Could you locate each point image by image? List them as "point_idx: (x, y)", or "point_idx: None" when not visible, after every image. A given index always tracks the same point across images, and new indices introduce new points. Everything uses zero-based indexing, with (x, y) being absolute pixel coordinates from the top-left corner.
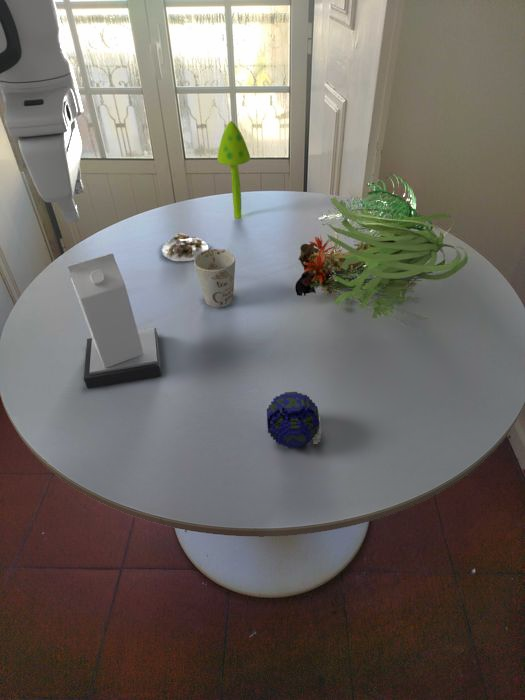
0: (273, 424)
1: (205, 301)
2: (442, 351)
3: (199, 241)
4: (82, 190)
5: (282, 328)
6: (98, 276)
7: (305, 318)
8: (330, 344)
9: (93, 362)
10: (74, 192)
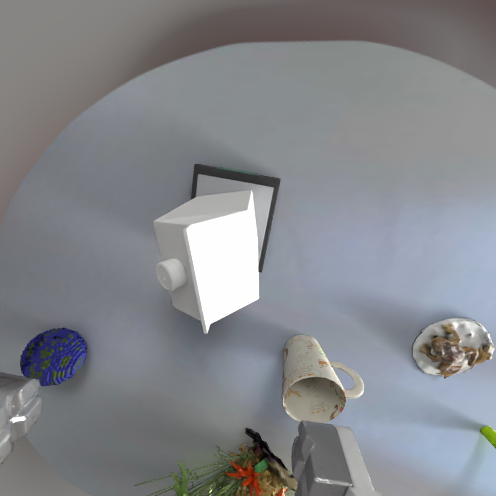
0: (35, 343)
1: (303, 335)
2: (135, 474)
3: (447, 372)
4: (292, 468)
5: (217, 386)
6: (164, 279)
7: (223, 410)
8: (175, 411)
9: (216, 182)
10: (299, 435)
